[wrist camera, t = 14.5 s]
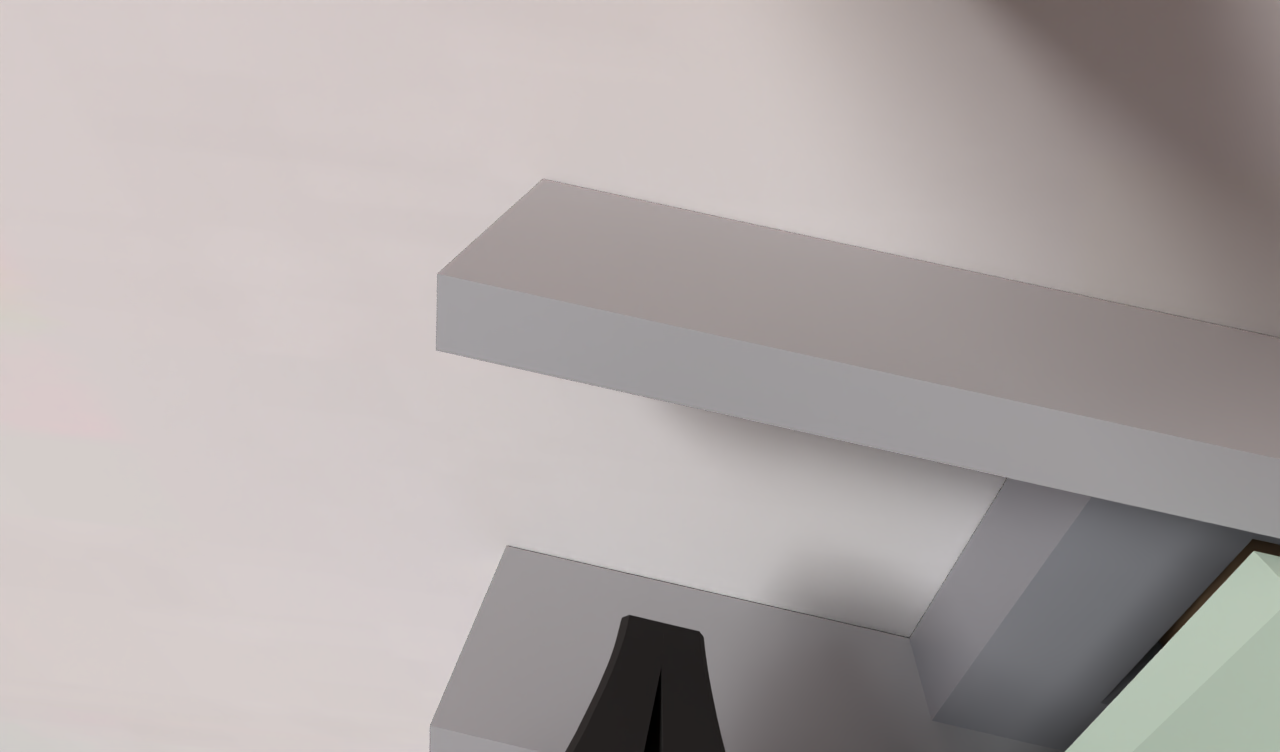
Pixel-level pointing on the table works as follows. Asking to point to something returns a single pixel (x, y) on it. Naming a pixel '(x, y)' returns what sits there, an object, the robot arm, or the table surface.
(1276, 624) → the lid
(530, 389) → the table surface
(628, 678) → the robot arm
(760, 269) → the housing
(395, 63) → the table surface
